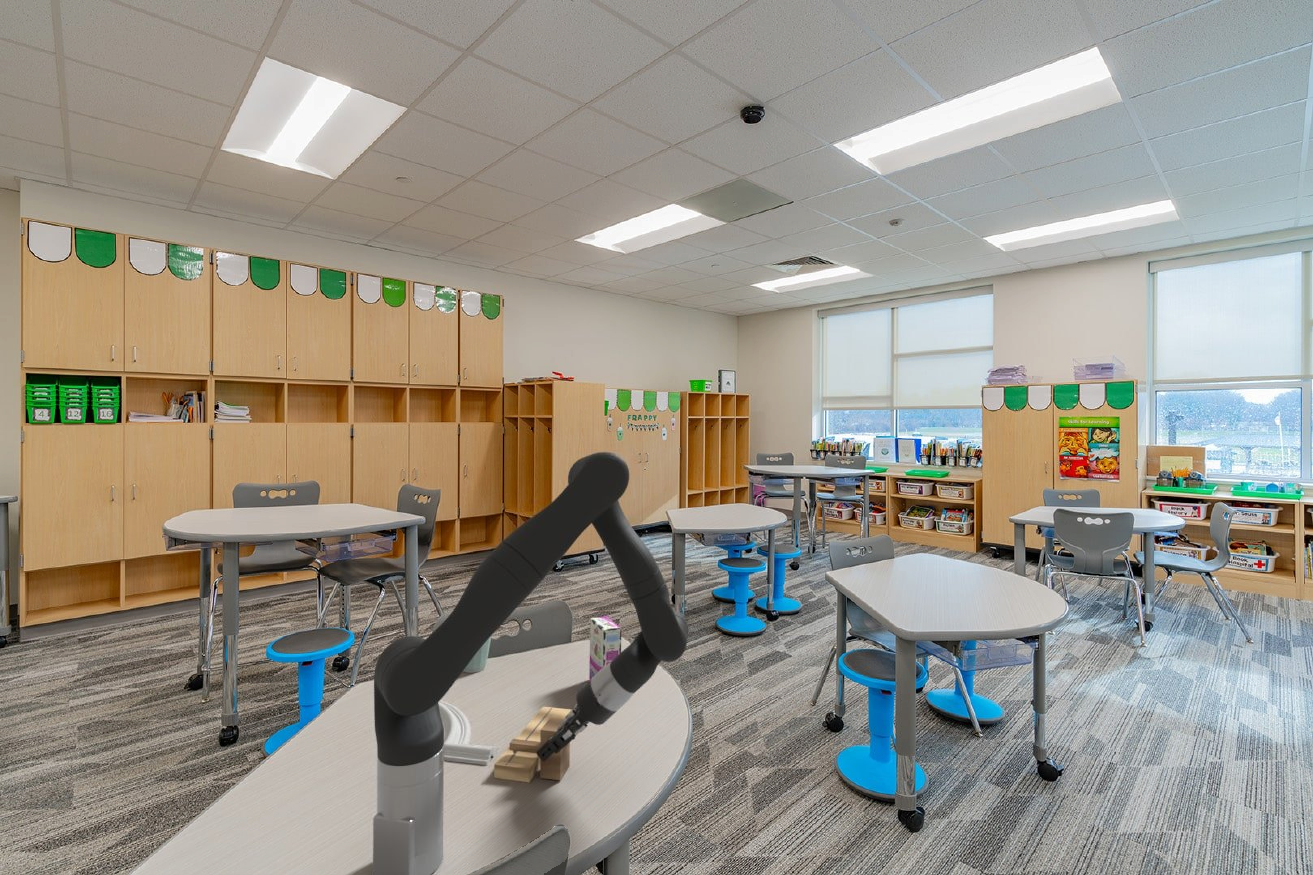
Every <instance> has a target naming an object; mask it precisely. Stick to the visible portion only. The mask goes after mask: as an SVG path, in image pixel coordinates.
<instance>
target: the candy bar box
mask: <svg viewBox="0 0 1313 875" xmlns="http://www.w3.org/2000/svg"><path fill="white" fill-rule="evenodd" d="M589 624H590V626H589V674H588V675H589V676H588V677H589V678H588V679H591V678H592V677H594V676H595V675H596V674H597V673H598V672H599V671H600V670H601V669H602V668H603V667H605V666H606V665H608V664H609V663H610V662H612V661H613V660H614V659H615V658H616V657H617V656H618V655H619V654H620V653H621V652H622V629H623V628H622V627H620V626H619V625H618V624H617V623H616V622H614V620H612V619H611V618H609V617H608V616H597V617H591V618H589Z"/></svg>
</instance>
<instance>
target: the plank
mask: <svg viewBox="0 0 1313 875" xmlns="http://www.w3.org/2000/svg"><path fill="white" fill-rule="evenodd" d="M571 710H572V709H570V708H559V707H550V706H542V708H541V709H540V710H539V711H538V712H537V713H536V715H535V716H534V717H533V718H532V719H531V721H530V722H529V723H528V724H527V725H526V726H525V727H524V729H523V730H522V731H521V733H519V734H518V736H517V737H516V738H515V739H519V740H528V741H537V742H540V730H541V729H542V727H543V726H544V725H545V724H546V722H547V721H548V720H549V719H550V717H551V718H561V719H565V717H566V715H567V714H568V713H569V712H570V711H571ZM493 768H494V770H493V771H494V772H493V775H494V776H493V777H494V779H501V780H508V781H515V782H524V783H531V781H532V779H533V778H534V776H535V775H536V773H537V772H538V770H539V769H540V758H539V757H538V755H537V753H528V752H520V751H516V753H513V751H512V750H510V746H508V747H507V749H506V750H505V751H504V753H503V754H502V755H501V756H500V757H499V758H498V759H497V761H496V762H495V763H494V766H493Z"/></svg>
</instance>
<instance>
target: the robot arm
mask: <svg viewBox="0 0 1313 875" xmlns="http://www.w3.org/2000/svg"><path fill="white" fill-rule="evenodd" d="M567 474H568V475H567V484H568V485H566V487H565V488H564V489H563V490H562V492H560V494H559V495H558V496H557V497H556V498H555V499H553V501H552V502H550V503H549V504H548V505H547V506H546V507H544V508H542V510H540V511H538V512H537V513H536V514H535V515H532V517H530V518H528V519H527V520H526V521H524V523H522V524H520V525H519V526H518V527H517V528H516V529H515V530H513V531H512V532H511V533H510V534H508V535H507V536H506V537H505V538H504V539H503V540H502V541H501V542H500V543H499V544H498V545H497V546H496V547H495V548H494V549H493V550H492V551H490V553H489V554H488V555H487V556H486V557H485V558H484V559H483V561H482V562H481V563H480V564H479V565H478V567H477V569H476V570H475V571H474V573H473V575H472V577H471V578H470V580H469V582H468V584H467V586H466V587H465V590H464V591H463V593H462V594H461V596H460V598H459V600H458V602H457V604H456V605H455V607H454V609H453V610H452V611H451V612H450V614H449V616H447V617H446V618H445V620H444V621H443V622H441V624H440V625H439V626H438V627H437V628H436V629H435V630H433V632H432V633H431V634H430V635H429V636H428V637H426V638H423V637H419V636H415V635H414V636H411V635H409V636H404V637H401V638H398V639H396V640H394V641H392V642H391V643H389V645H387V647H386V648H384V650H383V651H381V654H380V655H379V657H378V659H377V660H376V661H377V662H376V664H375V669H374V674H373V676H374V677H373V707H374V708H373V709H374V714H373V715H374V732H375V738H376V745H377V746H376V748H377V749H376V750H377V754H376V756H377V760H376V761H377V762H376V764H377V766H376V768H377V770H376V771H377V772H376V773H377V774H376V775H377V776H376V814H375V815H373V816H374V817H373V819H372V875H432V874H433V873H434V872H435V871H436V870H438V868H439V867H440V865H441V864H442V862H443V858H444V771H445V770H444V769H445V768H444V765H445V764H444V763H445V762H444V761H445V760H444V727H443V723H442V719H441V715H440V711H439V704H438V702H439V701H440V700H441V701H442V699H443V697H444V696H446V694H447V693H448V692H449V691H450V690H449V689H450V688H451V689H452V687H453V685H454V684H455V682H456V681H457V679H458V678H459V677H460V676H461V674H462V673H463V672H464V671H463V670H464V669H465V668H466V666H467V665H468V664H469V662H470V661H471V660H472V658H473V657H474V656H475V654H476V653H477V652H478V651H479V649H480V648H481V647H482V646H483V644H484V643H485V642H486V641H487V640H488V639H489V638H490V636H491V637H492V635H494V633H496V631H498V629H499V628H501V626H502V625H503V624H504V623H505V622H506V620H507V619H508V618H509V617H510V616H511V614H513V612H514V611H515V610H516V609H517V608H518V607H519V606H520V605H521V604H522V603H523V602H524V601H525V600H526V599H527V598H528V596H530V595H531V594H532V592H533V591H534V590H535V589H536V588H537V587H538V586H539V584H540V583H541V582H542V581H544V579H545V578H546V577H547V575H549V573H550V572H551V571H552V570H553V568H554V567H555V566H556V565H557V564H558V563H559V561H560V560H561V559H562V558H563V557H564V555H566V553H567V552H568V551H569V549H570V548H571V547H572V546H573V544H574V543H575V542H576V541H577V539H578V538H580V536H581V535H582V534H583V533H584V532H585V531H586V529H588V527H590V526H591V524H592V526H593V527H594V529H595V531H596V533H597V534H598V536H599V538H600V539H601V541H602V543H603V545H604V546H605V547H604V548H606V550H607V552H608V554H609V556H610V558H611V559H612V560H611V561H612V563H613V564H614V567H615V568H616V570H617V573H618V575H619V577H620V579H621V581H622V584H623V586H624V588H625V591H626V592H627V594H628V597H629V599H630V601H631V603H632V604H633V606H634V609H635V612H636V615H637V620H638V623H639V627H640V630H641V631H640V632H639V633H638V635H637V636H636V637H635V638H634V640H633V641H632V642H631V643H630V644H629V645H628V646H627V647H626V648H624V650H621V653H620V654H619V655H618V656H617V657H616V658H615V659H614V660H613V661H612V662H610V663H609V664H608V665H606V666H605V667H603V668H602V669H601V670H600V671H599V672H598V673H597V674H596V675H595V676H594V677H592V678H591V679H590V680H588V681H587V682H585V684H584V685H583V686H582V687H580V688H579V690H577V692H576V694H575V695H576V696H575V700H576V704H575V705H574V706H573V708H572V709H571V711H570V712H569V713H568V714H567V715H566V717H565V720H564V721H563V722H562V723H561V724H560V725H559V726H558V728H557V732H556V733H555V734H554V735H553V736H552V737H550V738H549V740H548V741H547V742H546V743H545V744H544V745H543V746H542V747H541V748H540V749H539V750H538V751H537V755H538V757H539V758H540V759H541V760H542V761H545V760H546V759H547V758H548V757H550V756H551V755H552V754H553V753H554V752H555V754H556V753H558V752H559V751H560V750H561V749H562V748H564V747H565V746H566V745H567V744H568V743H569V742H570V743H571V742H572V741H574V740H576V736H577V735H579V734H580V733H582V732H584V730H586V728H588V724H589V723H591V724H593V725H597V726H600V725H603V724H605V723H606V722H607V721H608V720H609V719H611V717H612V716H613V715H615V713H617V712H618V711H619V710H620V709H621V708H622V707H623V706H624V705H625V704H626V703H627V702H628V701H629V700H630V699H631V698H632V697H633V696H634V694H635V693H636V692H637V691H639V689H641V688H642V687H643V686H644V685H645V684H647V682H648V681H649V680H650V679H651V678H652V677H653V676H654V674H655V672H656V670H657V667H658V666H659V665H660V663H661V662H664V663H672V662H675V661H677V660H679V659H680V658H681V657H682V656H683V654H684V652H685V651H686V650H687V645H688V636H689V635H688V633H689V624H688V622H687V619H686V617H685V616H684V614H682V613H681V611H680V612H679V611H677V610H675V609H673V607H672V605H671V602H670V592H669V588H668V585H667V583H666V581H665V578H664V576H663V574H662V572H661V570H660V567H659V565H658V563H657V560H656V559H655V558H654V556H653V553H652V552H651V551H650V549H649V548H648V547H647V545H646V544H645V543H644V541H643V539H641V538H640V536H639V535H638V533H637V532H636V531H635V530H634V528H633V527H632V526H631V523H630V521H629V520H628V519H627V517H626V515H625V513H624V512H623V509H622V506H621V504H620V502H619V500H620V498H622V496H623V495H624V494H625V492H626V490H627V488H628V486H629V483H630V482H629V481H630V470H629V467H628V464H627V462H626V461H625V459H624V458H623V457H621V456H620V455H618V454H616V453H613V452H608V451H601V452H595V453H592V454H588V455H586V456H584V457H581V458H579V459H577V460H576V461H575V462H574V463H573V464H572V465H571V467H570V469H569V471H568V473H567ZM448 690H449V691H448ZM563 726H564V728H563Z"/></svg>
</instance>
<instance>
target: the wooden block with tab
mask: <svg viewBox="0 0 1313 875" xmlns="http://www.w3.org/2000/svg"><path fill="white" fill-rule="evenodd" d="M564 720H565V719H561V718H551V717H550V719H549V720H548V721H547V722H546V724H545V725H544V726H543V727H542V729H541V730H540V742H537V741H528V740H519V739H516V738H512V740H511V741H510V742H509V747H510V750H512V751H513V753H516V751H520V752H528V753H537V751H538V750H539V749H540V748H541V747H542V746H543V745H544V744H545V743H546V742H547V741H548V740H549V738H550V737H552V736H553V735H554V734H555V733H556V732H557V728H558V726H559V725H560V724H561V723H562V722H563V721H564ZM563 728H564V726H563ZM570 744H571V742H569V743H568V744H567V745H566V746H565V747H564V748H562V749H561V750H560V751H559V752H558V753H556V754H555V752H554V753H553V754H552V755H551V756H550V757H548V758H547V759H546V760H545V761H542V760H541V759H540V768H539V769H540V770H539V775H540V776H539V778H540V779H548V780H554V781H562V778H563V777H564V775H565V774H566V772H567V770H568V769H569V768H570V765H571V764H570V763H571V760H570V759H571V758H570V755H571V754H570V753H571V745H570Z"/></svg>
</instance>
